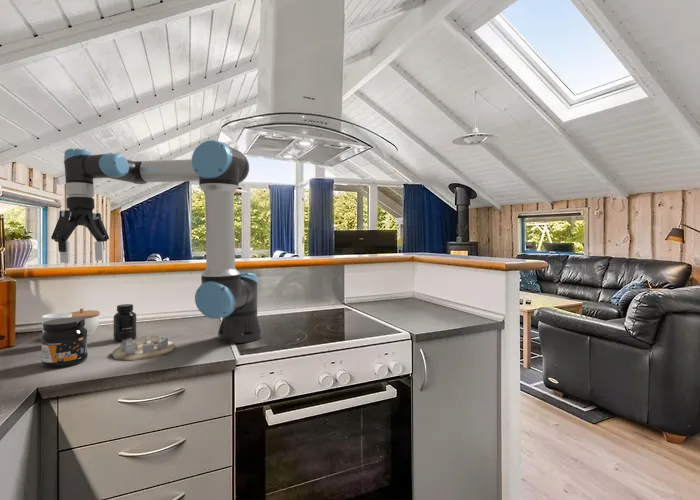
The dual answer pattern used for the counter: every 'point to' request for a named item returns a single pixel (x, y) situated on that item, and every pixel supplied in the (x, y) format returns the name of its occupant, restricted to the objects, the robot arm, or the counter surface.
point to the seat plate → (140, 355)
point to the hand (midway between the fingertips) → (83, 261)
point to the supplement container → (64, 342)
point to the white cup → (54, 317)
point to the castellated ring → (131, 349)
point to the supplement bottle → (124, 323)
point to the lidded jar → (88, 319)
